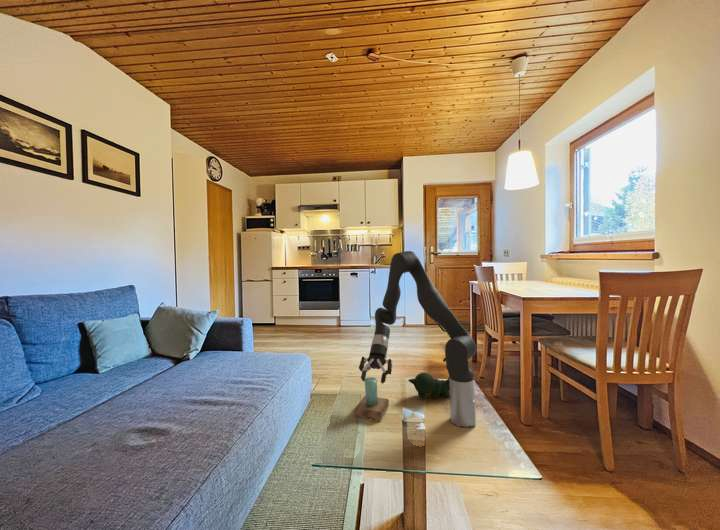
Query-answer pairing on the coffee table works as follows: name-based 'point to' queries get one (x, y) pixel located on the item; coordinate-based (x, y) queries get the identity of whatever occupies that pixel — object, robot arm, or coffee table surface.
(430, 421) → the coffee table surface
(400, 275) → the robot arm
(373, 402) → the teal cylinder
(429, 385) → the toy figurine
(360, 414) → the walnut plinth
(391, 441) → the coffee table surface
